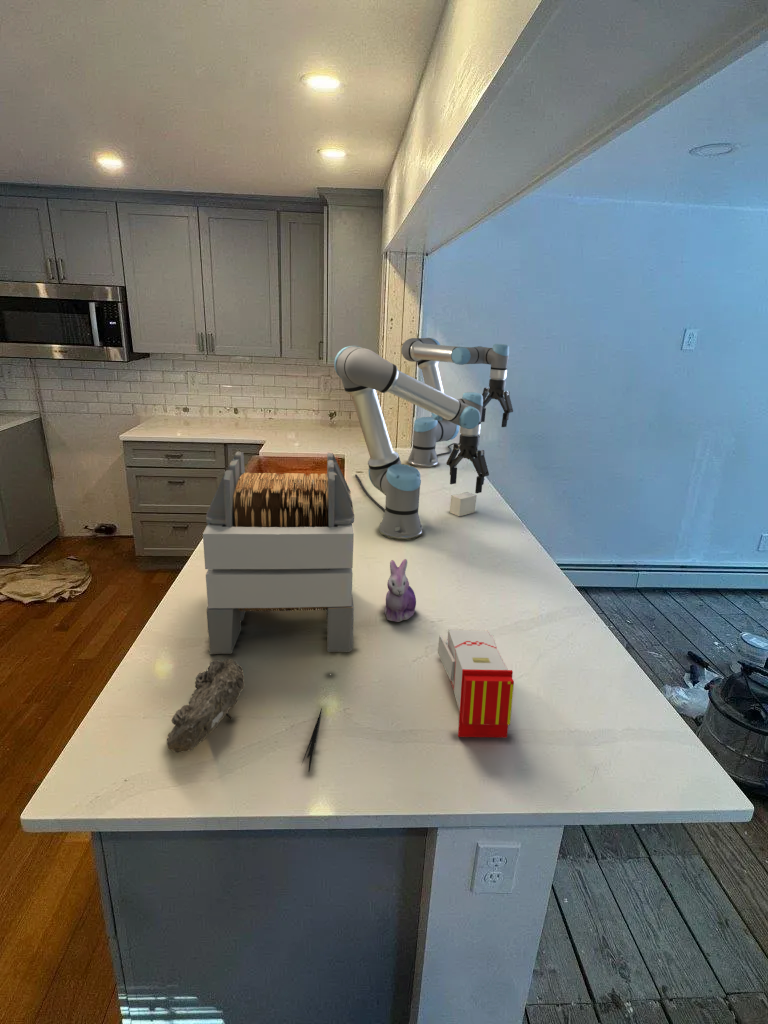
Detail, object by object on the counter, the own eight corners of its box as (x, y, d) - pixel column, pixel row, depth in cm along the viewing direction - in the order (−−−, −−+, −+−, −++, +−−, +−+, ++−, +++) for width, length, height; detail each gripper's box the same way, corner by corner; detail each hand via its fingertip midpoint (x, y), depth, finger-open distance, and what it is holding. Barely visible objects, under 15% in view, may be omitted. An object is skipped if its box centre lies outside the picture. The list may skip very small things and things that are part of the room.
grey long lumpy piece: (192, 660, 117) (244, 628, 112) (224, 691, 120) (276, 661, 115) (142, 746, 98) (202, 712, 93) (182, 779, 101) (242, 748, 96)
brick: (459, 516, 220) (460, 499, 217) (449, 512, 223) (451, 495, 221) (474, 512, 225) (476, 495, 223) (465, 508, 229) (467, 491, 226)
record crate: (229, 585, 158) (221, 442, 144) (346, 584, 161) (350, 444, 148) (206, 656, 126) (193, 481, 112) (353, 652, 130) (358, 483, 116)
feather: (331, 679, 122) (336, 673, 122) (307, 777, 96) (313, 769, 95) (324, 675, 122) (329, 669, 121) (298, 772, 95) (304, 764, 95)
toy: (488, 613, 130) (523, 677, 101) (484, 667, 133) (517, 744, 104) (435, 612, 130) (455, 676, 101) (432, 666, 133) (451, 743, 103)
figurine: (392, 627, 141) (395, 572, 136) (374, 608, 149) (376, 556, 144) (425, 619, 145) (429, 566, 140) (405, 601, 154) (408, 550, 149)
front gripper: (502, 439, 207) (496, 494, 214) (453, 427, 225) (449, 478, 232) (488, 442, 202) (482, 498, 210) (439, 429, 220) (436, 481, 228)
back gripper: (524, 381, 256) (518, 428, 263) (483, 375, 274) (478, 419, 281) (513, 382, 251) (508, 429, 258) (472, 376, 269) (468, 420, 276)
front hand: (465, 488), depth 221 cm, fingers open, 13 cm apart
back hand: (492, 424), depth 270 cm, fingers open, 13 cm apart
